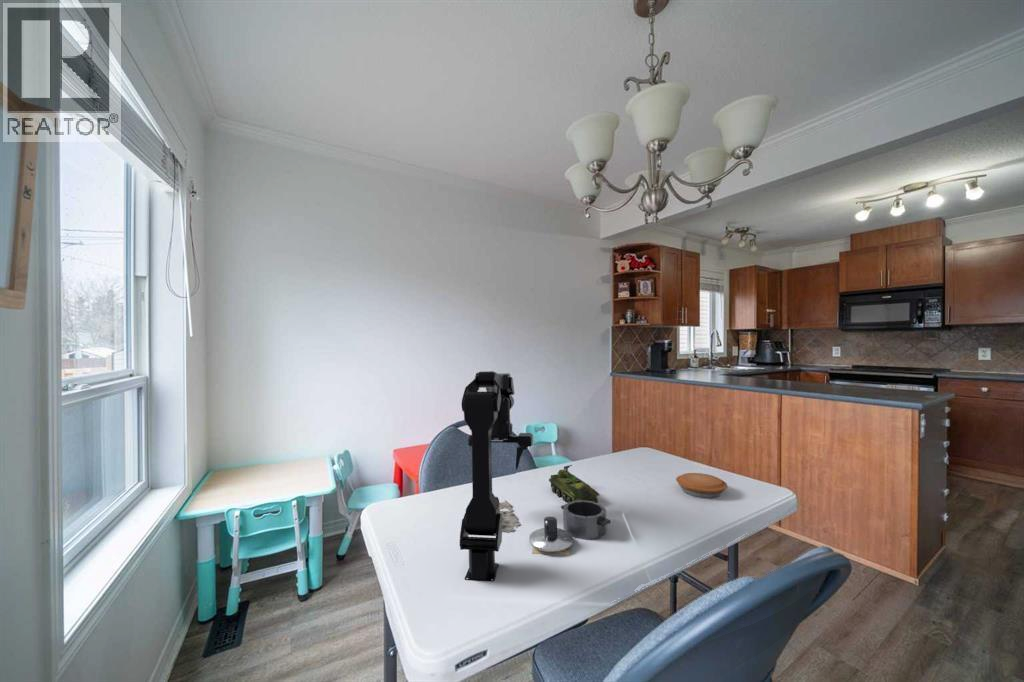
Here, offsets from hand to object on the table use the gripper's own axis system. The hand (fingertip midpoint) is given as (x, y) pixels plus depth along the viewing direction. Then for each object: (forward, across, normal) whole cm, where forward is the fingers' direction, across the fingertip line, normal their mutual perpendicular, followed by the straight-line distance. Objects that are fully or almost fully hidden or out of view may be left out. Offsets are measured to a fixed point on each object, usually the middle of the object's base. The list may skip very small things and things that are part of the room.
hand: (501, 468), depth 108 cm
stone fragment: (+15, +1, -2) cm, 15 cm away
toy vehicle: (+15, -21, -18) cm, 31 cm away
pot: (+14, -24, +6) cm, 28 cm away
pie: (+15, -64, -26) cm, 70 cm away
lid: (+14, -15, +14) cm, 25 cm away
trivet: (+14, -15, +14) cm, 25 cm away
